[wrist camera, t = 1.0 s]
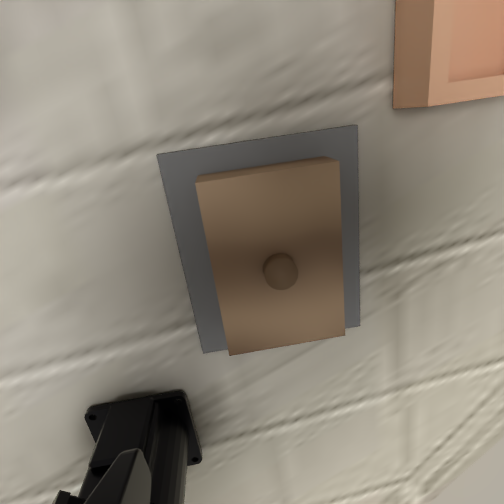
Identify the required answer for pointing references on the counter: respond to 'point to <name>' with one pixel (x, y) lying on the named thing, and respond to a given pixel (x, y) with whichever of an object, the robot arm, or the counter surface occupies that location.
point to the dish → (447, 51)
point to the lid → (276, 252)
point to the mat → (244, 156)
